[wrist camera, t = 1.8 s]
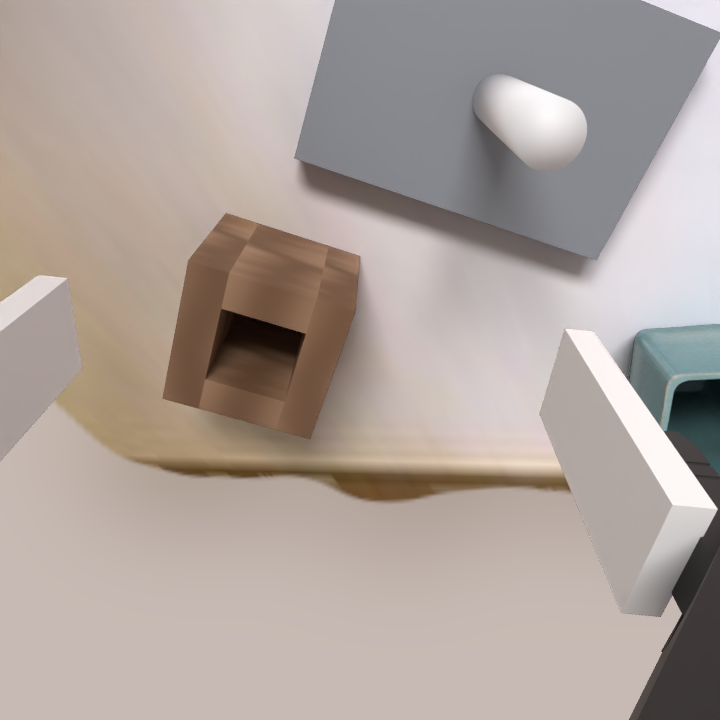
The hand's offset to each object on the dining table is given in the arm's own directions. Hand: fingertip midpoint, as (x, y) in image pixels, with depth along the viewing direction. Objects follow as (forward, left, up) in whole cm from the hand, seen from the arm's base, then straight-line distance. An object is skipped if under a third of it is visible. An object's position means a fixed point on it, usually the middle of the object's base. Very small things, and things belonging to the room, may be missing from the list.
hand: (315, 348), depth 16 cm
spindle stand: (+6, +6, -21) cm, 22 cm away
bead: (-2, -9, -21) cm, 22 cm away
